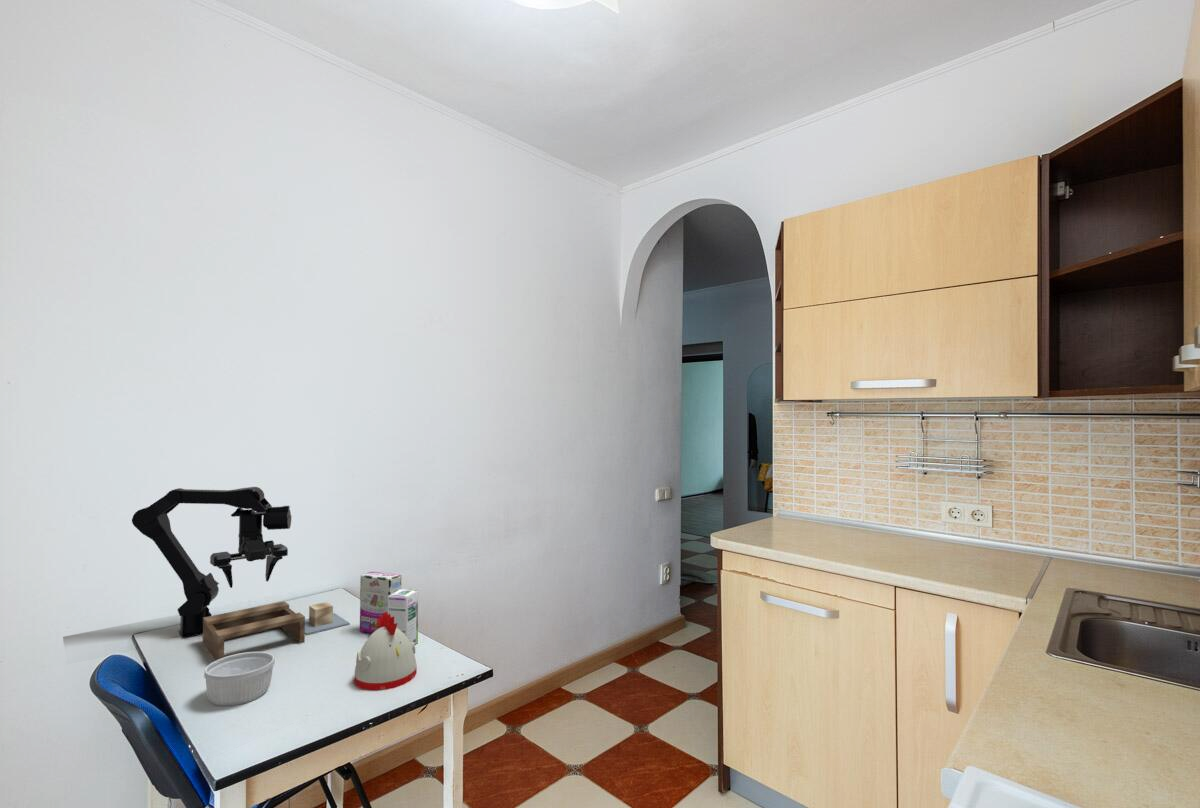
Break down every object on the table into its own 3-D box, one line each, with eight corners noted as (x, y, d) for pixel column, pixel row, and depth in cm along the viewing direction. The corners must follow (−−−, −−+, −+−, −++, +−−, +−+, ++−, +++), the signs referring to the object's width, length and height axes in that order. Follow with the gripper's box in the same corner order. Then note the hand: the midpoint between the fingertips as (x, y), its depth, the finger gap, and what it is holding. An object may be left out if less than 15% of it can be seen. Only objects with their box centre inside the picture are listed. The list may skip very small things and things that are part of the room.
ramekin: (257, 675, 135) (258, 646, 136) (285, 691, 128) (285, 660, 128) (193, 697, 125) (194, 665, 125) (219, 716, 117) (219, 682, 117)
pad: (306, 635, 160) (306, 633, 160) (292, 624, 169) (292, 622, 169) (349, 624, 169) (349, 622, 169) (334, 614, 177) (334, 612, 177)
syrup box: (407, 651, 150) (407, 596, 150) (386, 649, 151) (387, 594, 151) (418, 643, 155) (418, 589, 156) (398, 641, 156) (399, 588, 157)
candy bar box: (401, 632, 163) (402, 574, 164) (389, 638, 159) (390, 579, 159) (371, 626, 167) (372, 570, 168) (358, 632, 163) (359, 574, 163)
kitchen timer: (370, 696, 126) (371, 628, 126) (344, 677, 135) (345, 613, 135) (427, 676, 136) (428, 612, 136) (398, 659, 145) (399, 600, 146)
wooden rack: (218, 664, 141) (218, 636, 141) (202, 643, 154) (203, 617, 154) (304, 642, 155) (305, 616, 155) (283, 624, 168) (284, 601, 168)
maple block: (314, 627, 165) (315, 609, 165) (309, 622, 169) (309, 605, 169) (332, 622, 169) (333, 605, 169) (326, 618, 172) (326, 601, 172)
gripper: (219, 539, 154) (218, 597, 154) (294, 530, 167) (293, 583, 167) (210, 533, 162) (209, 588, 162) (282, 525, 175) (281, 576, 175)
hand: (249, 584), depth 166 cm, fingers open, 9 cm apart
